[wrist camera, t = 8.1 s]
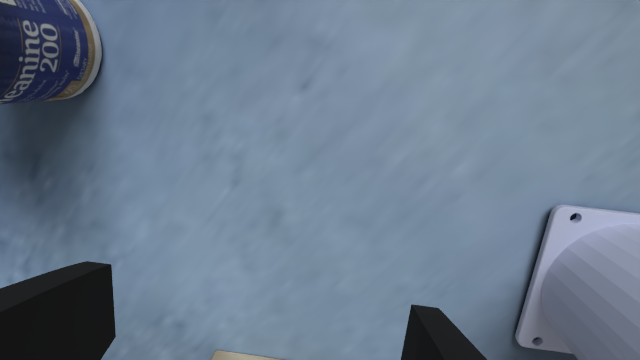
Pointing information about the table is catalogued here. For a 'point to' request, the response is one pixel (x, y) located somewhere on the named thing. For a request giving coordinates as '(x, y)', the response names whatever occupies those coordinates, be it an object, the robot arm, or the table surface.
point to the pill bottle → (46, 50)
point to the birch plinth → (237, 356)
